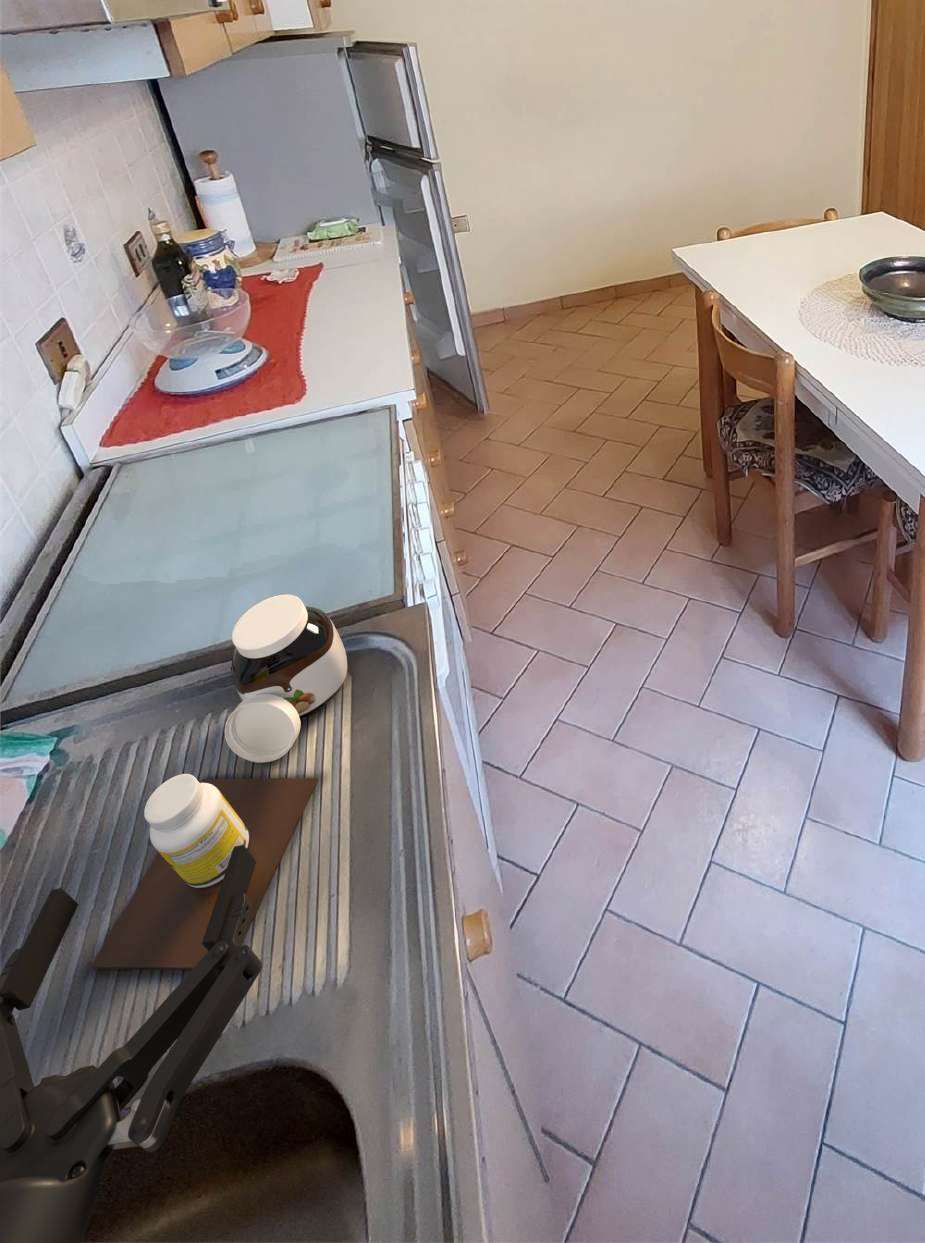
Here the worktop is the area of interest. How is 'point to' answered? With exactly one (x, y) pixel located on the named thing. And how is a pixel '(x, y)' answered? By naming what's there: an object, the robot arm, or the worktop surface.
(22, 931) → the worktop surface
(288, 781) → the runner mat
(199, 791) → the supplement bottle
